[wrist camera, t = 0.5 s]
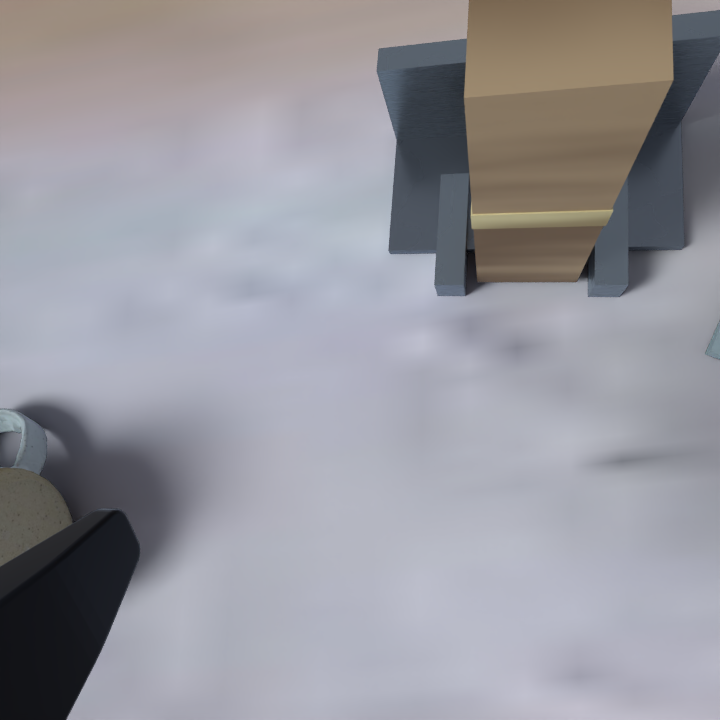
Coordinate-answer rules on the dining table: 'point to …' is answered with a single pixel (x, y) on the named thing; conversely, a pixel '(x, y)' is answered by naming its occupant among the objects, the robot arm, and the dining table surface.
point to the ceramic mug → (27, 492)
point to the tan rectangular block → (556, 124)
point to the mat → (714, 344)
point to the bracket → (451, 165)
